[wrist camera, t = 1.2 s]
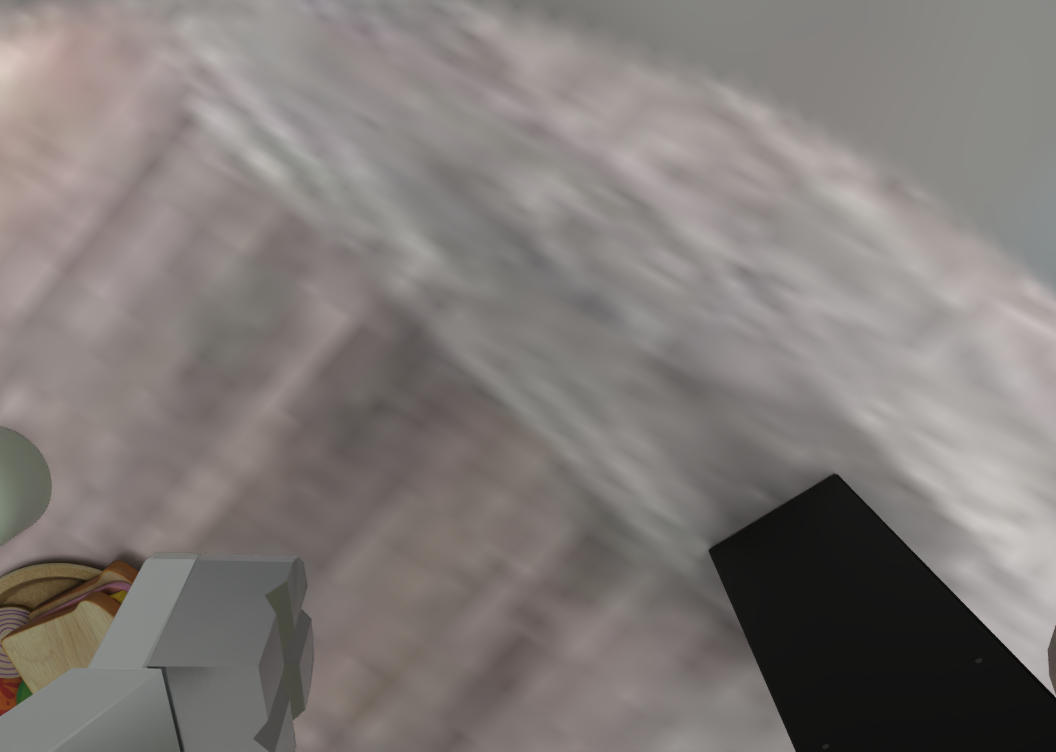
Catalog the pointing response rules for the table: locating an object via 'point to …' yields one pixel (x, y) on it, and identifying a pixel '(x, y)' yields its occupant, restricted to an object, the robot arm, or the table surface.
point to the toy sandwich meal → (54, 622)
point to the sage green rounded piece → (21, 484)
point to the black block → (872, 638)
